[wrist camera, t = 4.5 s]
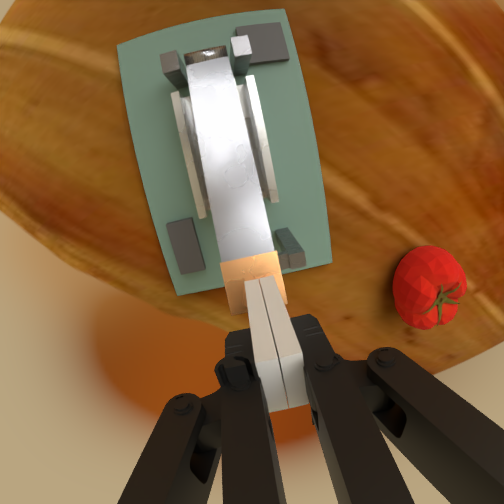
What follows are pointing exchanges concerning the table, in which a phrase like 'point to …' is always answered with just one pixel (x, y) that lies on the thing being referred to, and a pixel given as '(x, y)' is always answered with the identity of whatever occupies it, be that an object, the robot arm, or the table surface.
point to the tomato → (428, 287)
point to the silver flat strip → (230, 177)
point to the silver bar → (257, 135)
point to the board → (171, 153)
